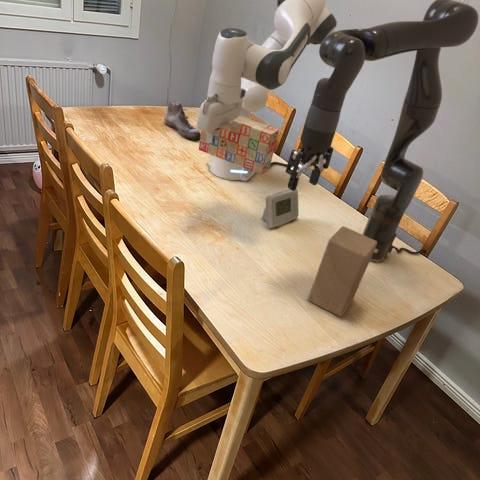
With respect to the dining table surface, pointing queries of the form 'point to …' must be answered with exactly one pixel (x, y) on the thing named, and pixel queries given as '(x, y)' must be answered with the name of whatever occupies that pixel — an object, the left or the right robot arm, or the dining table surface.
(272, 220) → the digital clock
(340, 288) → the wooden block
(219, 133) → the stack of blocks
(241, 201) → the dining table surface
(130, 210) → the dining table surface
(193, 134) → the shoe
